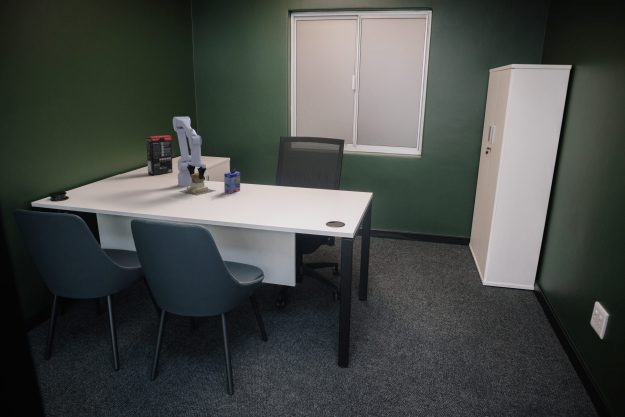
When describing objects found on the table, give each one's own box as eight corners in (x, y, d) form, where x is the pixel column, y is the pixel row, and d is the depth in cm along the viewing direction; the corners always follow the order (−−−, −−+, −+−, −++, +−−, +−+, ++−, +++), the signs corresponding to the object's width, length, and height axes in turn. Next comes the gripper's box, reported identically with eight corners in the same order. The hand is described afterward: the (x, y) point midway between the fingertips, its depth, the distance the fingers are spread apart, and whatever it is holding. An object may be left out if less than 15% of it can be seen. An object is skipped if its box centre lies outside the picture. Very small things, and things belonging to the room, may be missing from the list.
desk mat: (178, 192, 271) (178, 191, 271) (198, 187, 284) (198, 186, 284) (196, 196, 263) (196, 195, 263) (216, 191, 276) (216, 190, 276)
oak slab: (186, 191, 272) (186, 187, 272) (197, 188, 279) (197, 184, 279) (197, 193, 267) (196, 189, 267) (208, 190, 275) (207, 186, 274)
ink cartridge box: (231, 194, 270) (230, 170, 266) (224, 193, 272) (223, 169, 268) (241, 191, 278) (240, 168, 274) (233, 190, 281) (233, 167, 277)
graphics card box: (167, 171, 331) (165, 134, 324) (173, 172, 327) (171, 135, 320) (147, 174, 318) (144, 136, 310) (153, 176, 314) (151, 137, 307)
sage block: (190, 187, 272) (189, 182, 271) (197, 185, 277) (197, 180, 276) (197, 188, 269) (196, 183, 268) (204, 186, 274) (204, 182, 273)
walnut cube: (191, 182, 271) (191, 174, 270) (197, 181, 275) (197, 173, 274) (197, 183, 269) (196, 175, 267) (203, 182, 273) (203, 174, 271)
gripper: (209, 156, 267) (210, 178, 271) (192, 154, 275) (193, 175, 278) (200, 158, 261) (201, 180, 265) (183, 155, 269) (184, 177, 273)
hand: (196, 178), depth 271 cm, fingers open, 7 cm apart
